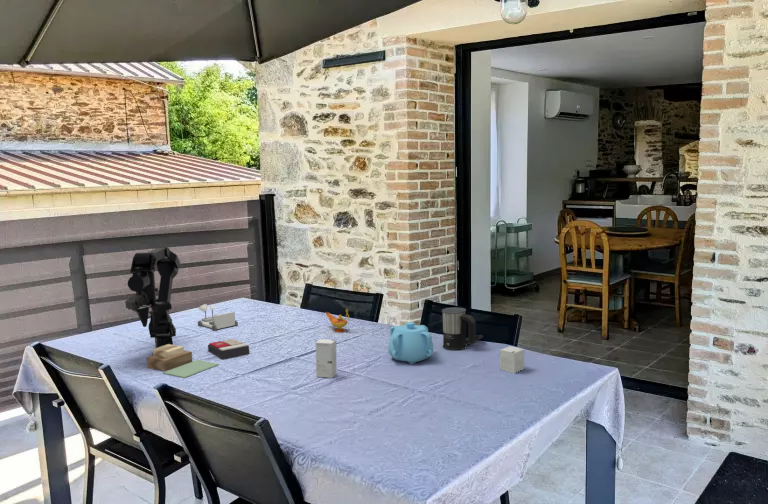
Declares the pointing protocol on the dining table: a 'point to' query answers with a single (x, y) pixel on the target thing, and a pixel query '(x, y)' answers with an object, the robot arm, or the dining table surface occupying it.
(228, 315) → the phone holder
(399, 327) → the decorative pot
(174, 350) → the birch tile
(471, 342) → the milk frother
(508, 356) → the skincare box
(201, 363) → the mat
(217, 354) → the calculator
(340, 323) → the magic lamp
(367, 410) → the dining table surface
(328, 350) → the white miniature cabinet
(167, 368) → the brown wooden block
